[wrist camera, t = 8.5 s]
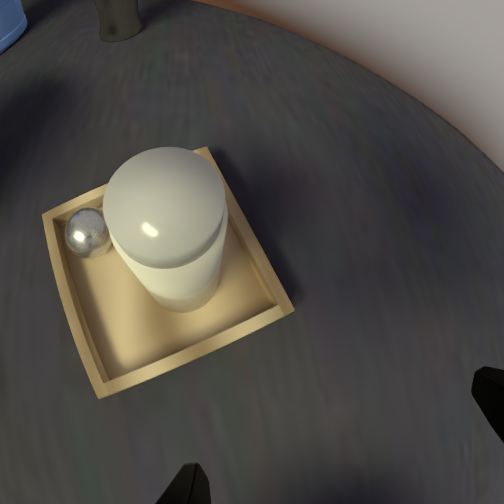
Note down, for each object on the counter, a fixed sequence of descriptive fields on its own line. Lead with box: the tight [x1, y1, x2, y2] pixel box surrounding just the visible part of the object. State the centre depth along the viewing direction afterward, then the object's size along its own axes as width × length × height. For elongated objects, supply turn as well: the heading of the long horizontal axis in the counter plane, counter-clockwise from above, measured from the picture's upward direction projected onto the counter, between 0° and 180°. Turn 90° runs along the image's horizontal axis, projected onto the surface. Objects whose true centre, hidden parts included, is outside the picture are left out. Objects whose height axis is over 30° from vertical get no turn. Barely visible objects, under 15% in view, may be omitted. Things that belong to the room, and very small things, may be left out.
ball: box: [65, 207, 112, 259], centre depth 19 cm, size 4×4×4 cm
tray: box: [42, 146, 295, 399], centre depth 21 cm, size 14×14×2 cm
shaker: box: [103, 147, 228, 313], centre depth 16 cm, size 5×5×11 cm
